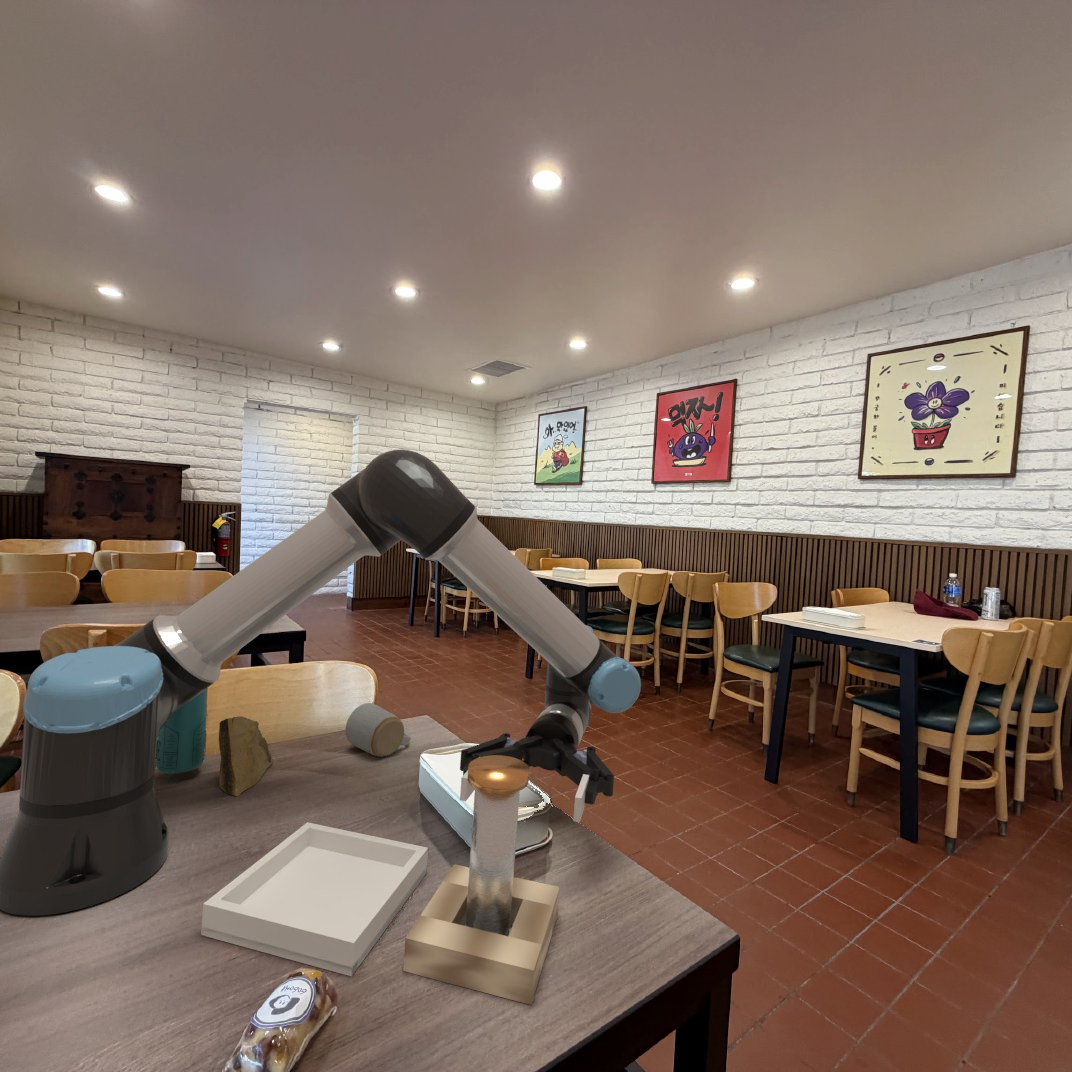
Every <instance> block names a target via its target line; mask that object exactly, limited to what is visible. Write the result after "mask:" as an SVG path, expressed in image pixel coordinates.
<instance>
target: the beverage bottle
mask: <svg viewBox="0 0 1072 1072" xmlns="http://www.w3.org/2000/svg"><path fill="white" fill-rule="evenodd" d="M208 689H209V687H208V688H207V689H205V690H204V691H203V692H201V693H200V694H199V695H197V696H196V697H195V698H194V699H192V700H191V701H190V702H188V703H187V704H186V705H184V706H183V707H182V708H180V709H179V710H178V711H177V712H176V713H174V714H173V715H172V716H171V717H170V718H169V719H168V720H167V722H166V723H165V725H164V726H163V727H162V728H161V729H160V731H159V732H158V737H157V751H156V766H155V768H156V770H157V771H158V772H160V773H164V774H180V773H186V772H189V771H193V770H195V769H198V768H199V767H201V766H202V765H203V763H204V760H205V757H206V752H207V744H206V742H207V734H208V733H207V728H208V726H207V720H208V715H209V714H208Z"/></svg>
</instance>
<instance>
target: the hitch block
mask: <svg viewBox="0 0 1072 1072" xmlns="http://www.w3.org/2000/svg"><path fill="white" fill-rule="evenodd" d="M469 867H470V866H469ZM469 867H468V866H463V865H461V864H460V865H459V864H453V865H452V867H451V869H450V870H449V872H448V873H447V874H446V876H445V878H444V879H443V881H442V882H441V883H440V885H439V886H438V888H437V890H436V891H435V893H434V894H433V896H432V897H431V899H430V900H429V902H428V903H427V905H426V906H425V908H424V909H423V911H422V912H421V914H420V915H419V917H418V918H417V920H416V921H415V923H414V924H413V926H412V927H411V929H410V931H408V933H407V935H406V937H405V941H404V953H403V965H402V966H403V969H402V971H403V972H406V973H410V974H412V975H413V974H414V975H418V976H421V977H425V978H429V979H433V980H437V981H440V982H444V983H447V984H450V985H451V984H452V985H455V986H458V987H463V988H466V989H470V990H473V991H478V992H480V993H485V994H490V995H492V996H495V997H496V996H497V997H500V998H503V999H507V1000H510V1001H515V1002H519V1003H523V1004H526V1005H530V1006H532V1004H533V1001H534V997H535V994H536V991H537V988H538V984H539V980H540V977H541V973H542V969H543V967H544V963H545V959H546V957H547V953H548V950H549V945H550V942H551V940H552V935H553V932H554V931H555V930H554V929H555V926H556V923H557V919H558V915H559V903H560V892H561V891H560V888H561V887H560V886H557V885H553V884H547V883H542V882H538V881H533V880H530V879H529V880H528V879H524V878H520V877H514V878H513V892H512V906H511V920H510V933H509V936H504V935H500V934H496V933H492V932H488V931H484V930H480V929H475V928H471V927H467V926H465V924H466V910H467V895H468V881H469Z"/></svg>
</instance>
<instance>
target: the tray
mask: <svg viewBox="0 0 1072 1072" xmlns="http://www.w3.org/2000/svg"><path fill="white" fill-rule="evenodd" d="M428 855H429V847H427V846H421V845H417V844H412V843H407V842H402V841H399V840H393V839H390V838H389V839H388V838H383V837H379V836H374V835H369V834H365V833H361V832H355V831H351V830H345V829H341V828H337V827H333V826H332V827H331V826H327V825H322V824H317V823H313V822H306V823H305V824H303V825H302V826H301V827H299V828H298V829H297V830H296V831H294V832H293V833H292V834H291V835H289V836H288V837H287V838H285V839H284V840H283V841H282V842H281V843H279V844H278V845H276V846H275V847H273V849H271V850H269V852H267V853H266V854H265V855H264V856H262V857H261V858H260V859H258V860H257V861H256V862H255V863H254V864H252V865H251V866H249V867H248V868H247V869H245V871H243V872H242V873H240V874H239V875H238V876H236V877H235V878H234V879H233V880H232V881H231V882H229V883H228V884H226V885H225V886H224V887H222V888H221V889H220V890H219V891H218V892H216V893H214V895H213V896H211V897H210V898H209V899H207V900H206V901H205V902H203V904H202V914H201V915H202V917H201V931H200V935H201V936H203V937H206V938H211V939H213V940H218V941H222V942H226V943H228V944H232V945H236V946H241V947H242V948H247V949H251V950H254V951H257V952H262V953H265V954H269V955H272V956H276V957H279V958H283V959H287V960H290V961H294V962H297V963H301V964H305V965H308V966H312V967H316V968H320V969H323V970H327V971H329V972H334V973H337V974H341V975H345V976H348V977H353V975H354V974H355V973H356V971H357V970H358V969H359V967H360V965H361V964H362V963H363V962H364V960H365V959H366V957H367V956H368V955H369V953H370V952H371V951H372V950H373V947H374V946H375V945H376V943H377V942H378V941H379V940H380V938H381V936H382V935H383V934H384V932H385V931H386V930H387V929H388V927H389V926H390V925H391V922H393V920H394V919H395V918H396V916H397V914H398V913H399V912H400V911H401V909H402V908H403V906H404V905H405V904H406V903H407V901H408V899H409V898H410V896H412V895H413V892H414V891H415V890H416V888H417V887H418V885H419V884H420V883H421V881H422V880H423V879H424V877H425V876H426V875H427V872H428Z"/></svg>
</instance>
